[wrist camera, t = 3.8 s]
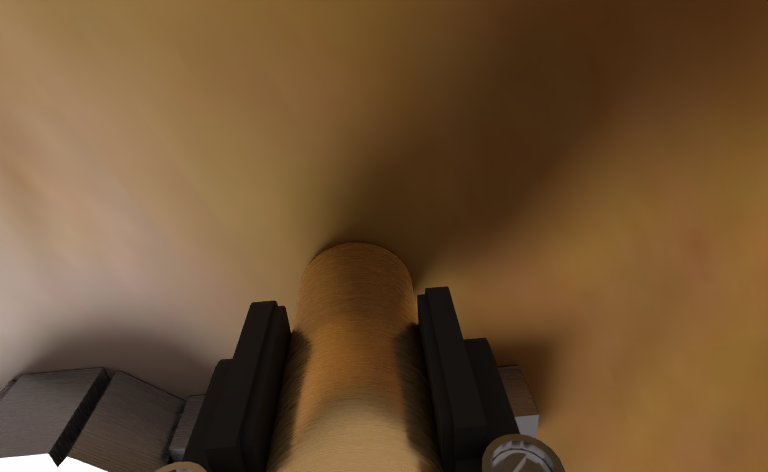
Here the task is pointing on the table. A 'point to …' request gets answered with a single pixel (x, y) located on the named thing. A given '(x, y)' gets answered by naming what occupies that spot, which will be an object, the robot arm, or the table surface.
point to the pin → (355, 371)
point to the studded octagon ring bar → (127, 421)
